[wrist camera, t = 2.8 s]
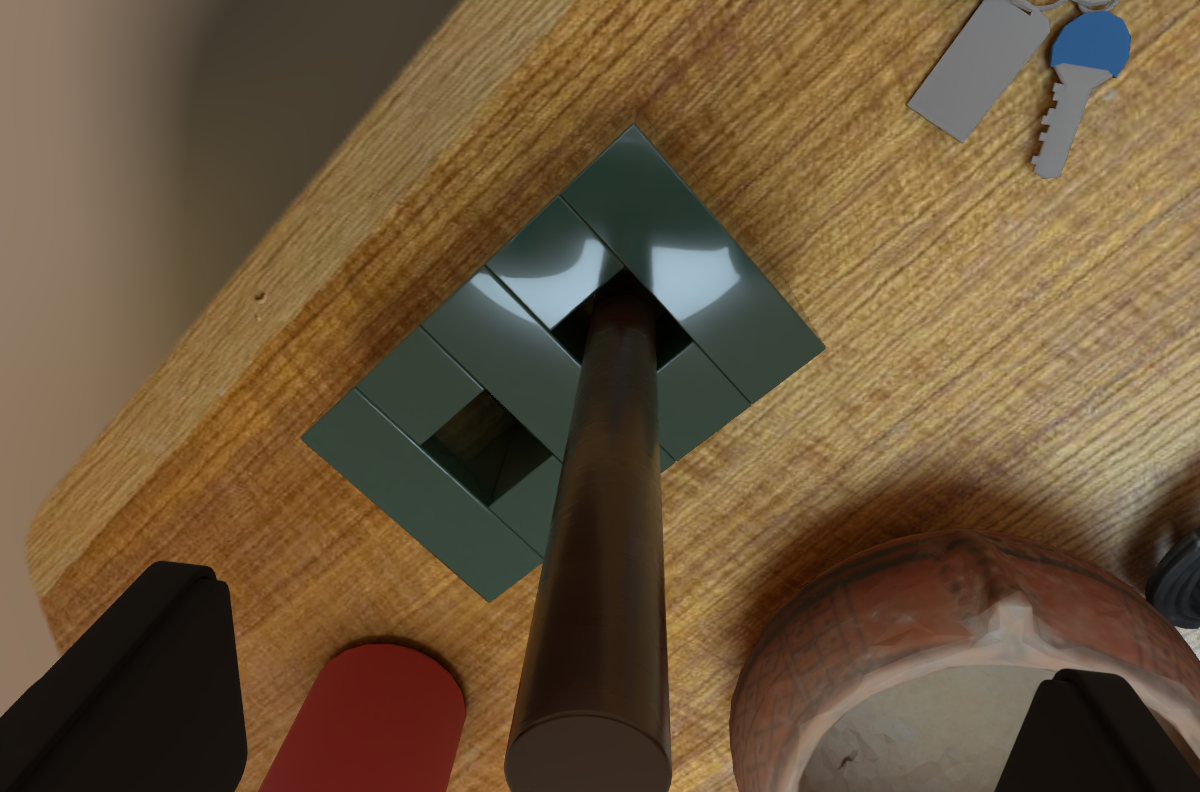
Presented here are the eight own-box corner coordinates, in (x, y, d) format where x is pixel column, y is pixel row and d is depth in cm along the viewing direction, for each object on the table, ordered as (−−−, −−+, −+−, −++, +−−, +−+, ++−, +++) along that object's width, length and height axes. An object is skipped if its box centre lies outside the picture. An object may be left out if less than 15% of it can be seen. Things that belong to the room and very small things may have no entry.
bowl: (962, 394, 28) (1117, 566, 19) (1199, 654, 32) (1424, 900, 23) (640, 639, 33) (639, 868, 24) (879, 836, 37) (957, 1098, 28)
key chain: (1334, -246, 20) (1361, -257, 20) (1331, 83, 23) (1354, 85, 23) (790, -39, 23) (794, -41, 22) (851, 235, 26) (857, 241, 25)
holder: (516, 504, 31) (488, 604, 25) (364, 363, 29) (298, 439, 23) (789, 285, 27) (827, 348, 21) (636, 104, 25) (633, 121, 19)
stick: (596, 299, 27) (499, 826, 9) (602, 247, 26) (507, 704, 8) (649, 305, 27) (660, 844, 9) (656, 253, 26) (682, 723, 8)
